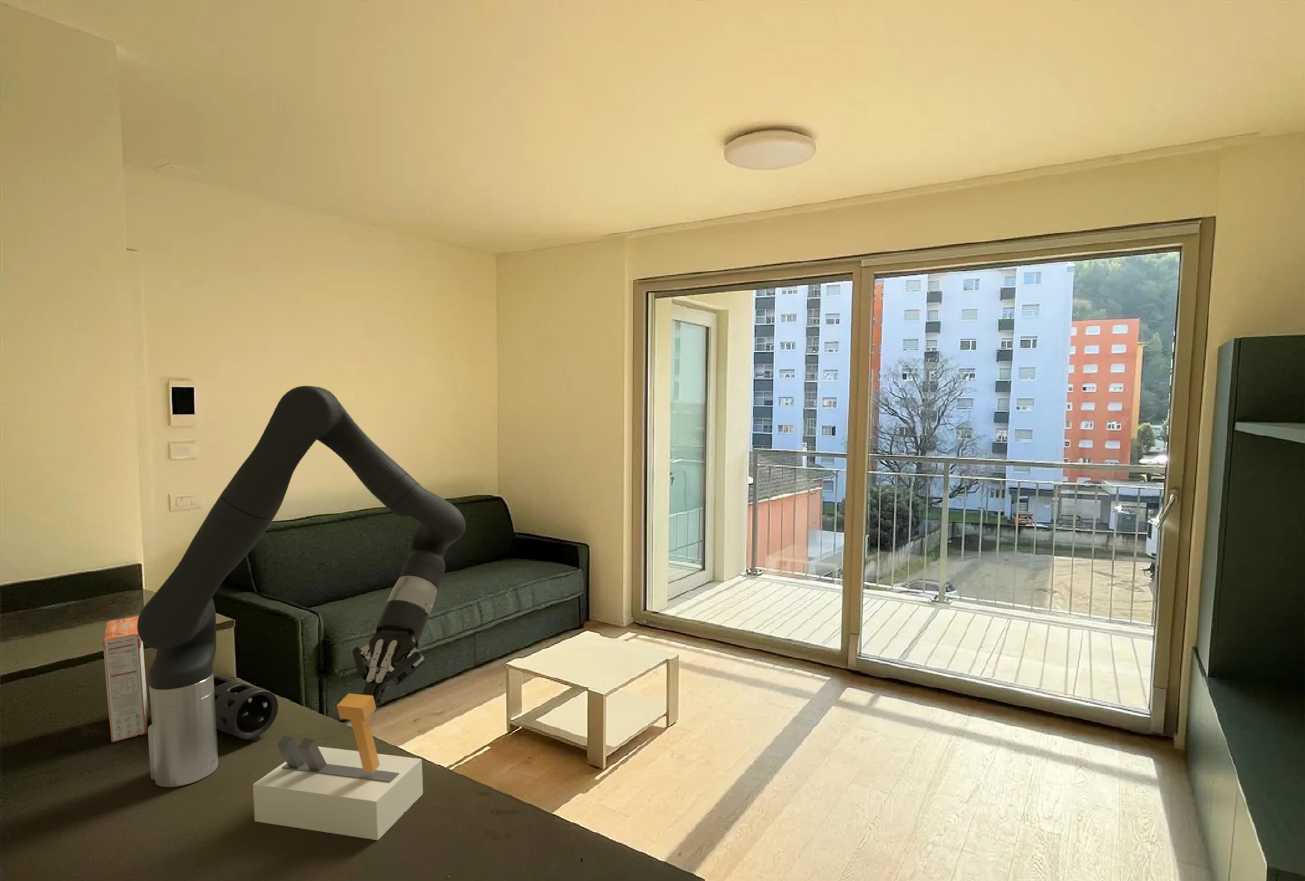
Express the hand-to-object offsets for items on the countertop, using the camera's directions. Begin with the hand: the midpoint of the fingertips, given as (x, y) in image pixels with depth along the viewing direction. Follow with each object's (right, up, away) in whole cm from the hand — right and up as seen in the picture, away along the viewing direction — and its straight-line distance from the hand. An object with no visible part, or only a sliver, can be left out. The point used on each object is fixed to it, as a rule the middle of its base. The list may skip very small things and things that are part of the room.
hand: (367, 709), depth 104 cm
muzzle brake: (-44, -17, +31) cm, 57 cm away
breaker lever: (0, -10, +2) cm, 11 cm away
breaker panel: (-6, -17, +3) cm, 18 cm away
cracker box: (-63, -17, +32) cm, 72 cm away
